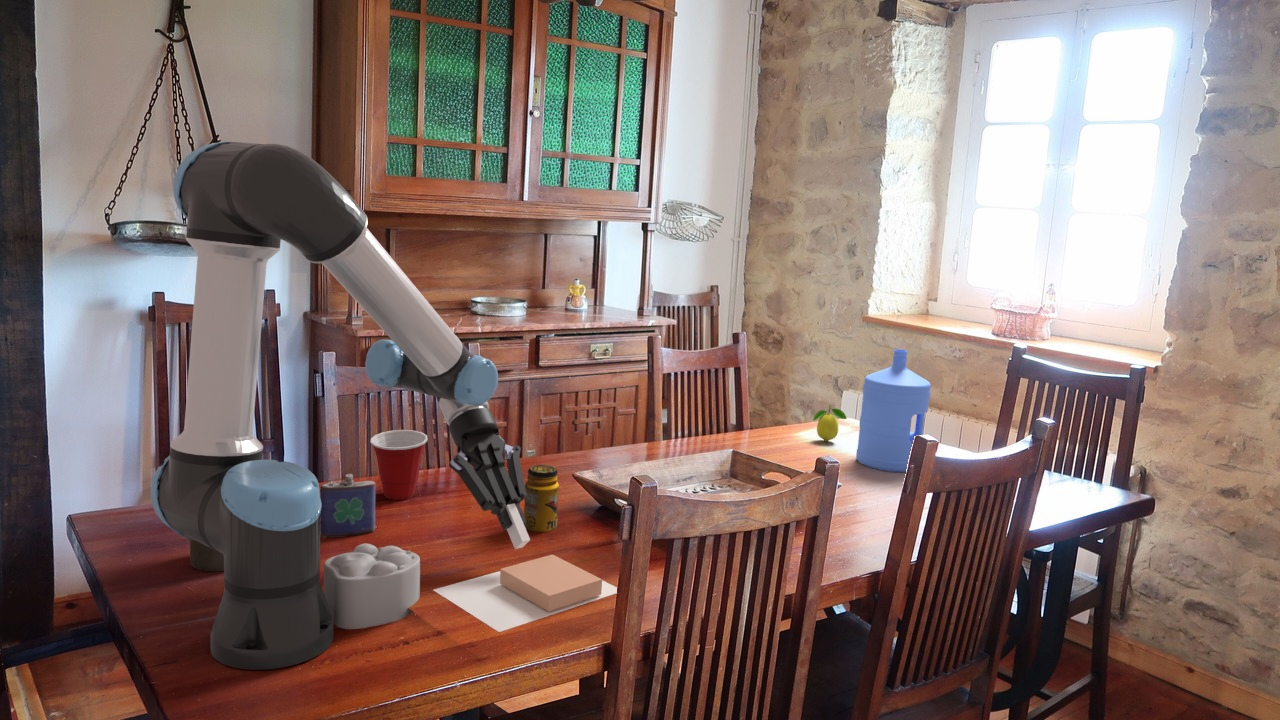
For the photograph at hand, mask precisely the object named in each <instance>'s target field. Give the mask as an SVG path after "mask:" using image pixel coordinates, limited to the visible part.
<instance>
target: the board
mask: <svg viewBox="0 0 1280 720" xmlns="http://www.w3.org/2000/svg"><path fill="white" fill-rule="evenodd" d="M617 588H618V587H617V586H615V585H612V584H611V583H608V582H607V581H605V580H603V579H602V591H601V595H598V596H595V597H592V598H589V599H586V600H583V601H580V602H577V603H574V604H571V605H568V606H564V607H561V608H558V609H555V610H552V611H549V612H548V611H547V610H545V609H543V608H541V607H540V606H538V605H536V604H535V603H533V602H531V601H529V600H528V599H526V598H524V597H522V596H521V595H519V594H517V593H515V592H514V591H512V590H510V589H508V588H507V587H505V586H503V585H501V584H500V570H499V571H496V572H491V573H488V574H484V575H481V576H478V577H474V578H471V579H467V580H463V581H459V582H456V583H452V584H449V585H445V586H441V587H437V588H434V589H432V591H433V592H435V593H437V594H438V595H439V596H441V597H443V598H445V599H446V600H447V601H449V602H450V603H452V604H454V605H456V606H457V607H458V608H460V609H462V610H464V612H467V613H468V614H470V615H471V616H472V617H475V618H476V619H477V620H479V621H481V622H482V623H484V624H485V625H487V626H489V627H490V628H491V629H493V630H494V631H496V632H498V633H502V632H505V631H508V630H510V629H513V628H517V627H520V626H522V625H525V624H529V623H532V622H535V621H537V620H541V619H543V618H546V617H547V618H548V617H550V616H553V615H556V614H559V613H561V612H565V611H569V610H570V609H574V608H577V607H579V606H580V607H581V606H583V605H585V604H588V603H592V602H595V601H598V600H601V599H604V598H608V597H610V596H613V595H616V594H618V593H617Z"/></svg>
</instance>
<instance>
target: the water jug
mask: <svg viewBox="0 0 1280 720" xmlns="http://www.w3.org/2000/svg"><path fill="white" fill-rule="evenodd" d="M893 352H894V355H893V356H892V358H893V359H892V365H891V366H890V367H887V368H884V369H881V370H878V371H876V372H873V373H871V374H867V375H866V376H865V377H864V382H863V387H862V401H861V402H862V403H861V410H860V411H861V412H860V413H861V414H860V418H859V430H858V431H859V433H858V443H857V448H856V456H855V457H856V460H857V461H858V462H859V463H860V464H862V465H863V466H865V467H867V468H871V469H875V470H879V471H884V472H890V471H891V472H892V473H907V472H906V469H907V464H908V459H909V455H910V451H911V447H912V444H913V440H914V436H916V435H922V436H923V431H924V421H925V416H926V415H925V414H926V413H927V412H928V411H929V406H930V405H929V403H930V399H931V386H932V385H931V382H930V381H928V380H927V379H925V378H923V377H922V376H920V375H919V374H917V373H916V372H913V371H912V370H911V369H908V368H907V367H908V366H907V361H908V357H907V355H908V352H909V351H908V350H906V349H898V348H897V349H896V348H895V349H893ZM915 415H916V419H915V427H914V432H913V431H911V429H912V428H911V427H912V419H913V417H914V416H915ZM891 472H890V473H891Z"/></svg>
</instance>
